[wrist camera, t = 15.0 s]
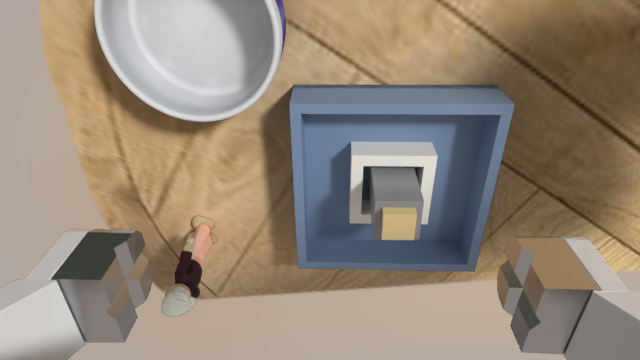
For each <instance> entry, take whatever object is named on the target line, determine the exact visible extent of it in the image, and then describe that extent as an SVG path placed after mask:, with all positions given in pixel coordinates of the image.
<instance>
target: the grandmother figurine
mask: <svg viewBox="0 0 640 360" xmlns="http://www.w3.org/2000/svg"><path fill="white" fill-rule="evenodd" d="M192 226H193V228H194V229H196V231H195V232H192V233H190V234H189V235H188V238H187V240H186V245H185V246H184V249H183V251H182V253H181V256H180V261H179V264H178V266H177V269H176V271H175V284H174V285H172V286H170V287H169V288H168V290H167V291H166V294H165V297H164V298H163V302H162V304H161V311H162V313H163V314H164V315H166V316H171V317H178V316H181V315H184V314H186V313H187V312H189V311H190V310H191V309H192V308H194V307H195V306H196V303H197V302H196V299H195V298H197V297H198V296H199V294H200V291H201V290H202V284H200V283H199V282H200V280H201V275H202V266H203V263H204V261H205V258H206V256H207V254H208V251H209V249H210V247H211V245H212V244H214V243H216V242H217V236H216V235H215V234H213V233H210V230H212V229H213V228H214V222H213V221H212V220H210V219H207V218H204V217H201V216H195V217H193V219H192Z"/></svg>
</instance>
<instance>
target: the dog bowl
mask: <svg viewBox="0 0 640 360" xmlns="http://www.w3.org/2000/svg"><path fill="white" fill-rule="evenodd" d="M94 21H95V27H96V33H97V37H98V40H99V43H100V46H101V48H102V51H103V53H104V55H105V57H106V59H107V61H108V63H109V64H110V66H111V68H112V69H113V71H114V72H115V74H116V75H117V76H118V77H119V79H120V80H121V81H122V82H123V83H124V85H125V86H126V87H127V88H128V89H129V90H130V91H131V92H132V93H133V94H135V95H136V96H137V97H138V98H139V99H141V100H142V101H144V102H145V103H146V104H148V105H149V106H151V107H153V108H154V109H156V110H158V111H160V112H162V113H164V114H167V115H169V116H172V117H175V118H179V119H183V120H188V121H195V122H212V121H219V120H223V119H227V118H230V117H233V116H235V115H237V114H239V113H241V112H243V111H245V110H246V109H248V108H249V107H250V106H252V105H253V104H254V103H255V102H257V101H258V100H259V99H260V97H261V96H262V95H263V94H264V93H265V91H266V90H267V89H268V87H269V86H270V84H271V82H272V80H273V78H274V76H275V73H276V71H277V68H278V65H279V62H280V58H281V55H282V51H283V47H284V42H285V35H286V19H285V11H284V7H283V3H282V0H94Z"/></svg>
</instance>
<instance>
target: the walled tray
mask: <svg viewBox="0 0 640 360" xmlns="http://www.w3.org/2000/svg"><path fill="white" fill-rule="evenodd" d="M514 106H515V104H514V103H513V102H512V101H511V100H510V99H509V97H508V96H507V95H506V94H505V93H504V92H503V91H502V90H501V89H500V88H499V87H498V86H497V85H294V87H293V91H292V95H291V99H290V103H289V107H290V126H291V146H292V165H293V185H294V204H295V223H296V243H297V262H298V268H308V269H365V270H421V271H475V268H476V264H477V259H478V255H479V251H480V247H481V243H482V239H483V235H484V230H485V226H486V222H487V218H488V214H489V210H490V205H491V201H492V197H493V193H494V189H495V185H496V181H497V176H498V172H499V168H500V164H501V160H502V156H503V151H504V147H505V143H506V139H507V135H508V131H509V127H510V122H511V118H512V114H513V110H514ZM370 166H410V167H414V169H415V172H416V176H417V179H418V183H419V186H420V189H421V193H422V196H423V199H424V206H423V213H422V221H421V229H420V237H419V239H414V240H382V239H373V233H372V223H371V214H370V204H369V195H368V189H369V167H370Z"/></svg>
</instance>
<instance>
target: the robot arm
mask: <svg viewBox="0 0 640 360" xmlns="http://www.w3.org/2000/svg"><path fill="white" fill-rule="evenodd" d="M144 247H145V242H144V239H143V236H142V233H140V232H138V231H131V230H104V229H94V230H92V229H71V230H68V231H66V232H65V233H64V234H63V235H62V236H61V237H60V239H59V240H58V241H57V242H56V243H55V244H54V245H53V247H52V248H51V249H50V250H49V251H48V253H46V255H45V256H44V257H43V258H42V259H41V260H40V261H39V263H38V264H37V265H36V266H35V267H34V268H33V270H32V271H31V272H30V273H29V274H28V275H27V276H26V278H25V279H17V280H15V281H13V282H11V283H9V284H7V285H5V286H3V287H1V288H0V360H68V359H69V358H70V357H71V356H72V355H74V354H75V353H76V352H77V351H78V350H80V349H81V348H82V347H83V346H84V345H85V342H125V341H126V339H127V337H128V335H129V333H130V331H131V329H132V327H133V325H134V323H135V321H136V319H137V315H136V311H135V308H136V307H138V306H139V305H141V304H142V303H144V302H145V301H146V299H147V297H148V295H149V292H150V290H151V284H152V279H153V275H152V266H151V263H150V260H149V259H148V258H147V257H146V256H145V255H143V254H142V253H141V252H142V250H143V249H144ZM504 251H505V253H506V256H507V258H508V260H507V261H506V262H505V263H504V264H502V265H501V266H500V268H499V273H498V277H497V290H498V295H499V299H500V302H501V305H502V307H503V309H504V310H505V311H507V312H508V313H509V314H510V315H512V316H513V318H512V322H511V325H510V326H511V329H512V331H513V333H514V336H515V338H516V340H517V343H518V345H519V347H520V350H521V352H527V353H546V354H564V357H565V358H566V359H567V360H640V293H638V292H631V291H628V290H627V288H626V287H625V286H624V285H623V283H622V282H621V280H620V279H619V278H618V277H617V275H616V274H615V273H614V271H613V270H612V269H611V268H610V266H609V265H608V264H607V262H606V261H605V260H604V259H603V257H602V256H601V255H600V253H599V252H598V251H597V250H596V248H595V247H594V246H593V244H592V243H591V242H590V241H589V240H588V239H587V238H585V237H583V236H566V237H510V239H509V240H508V241H507V244H506V247H505V250H504Z"/></svg>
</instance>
